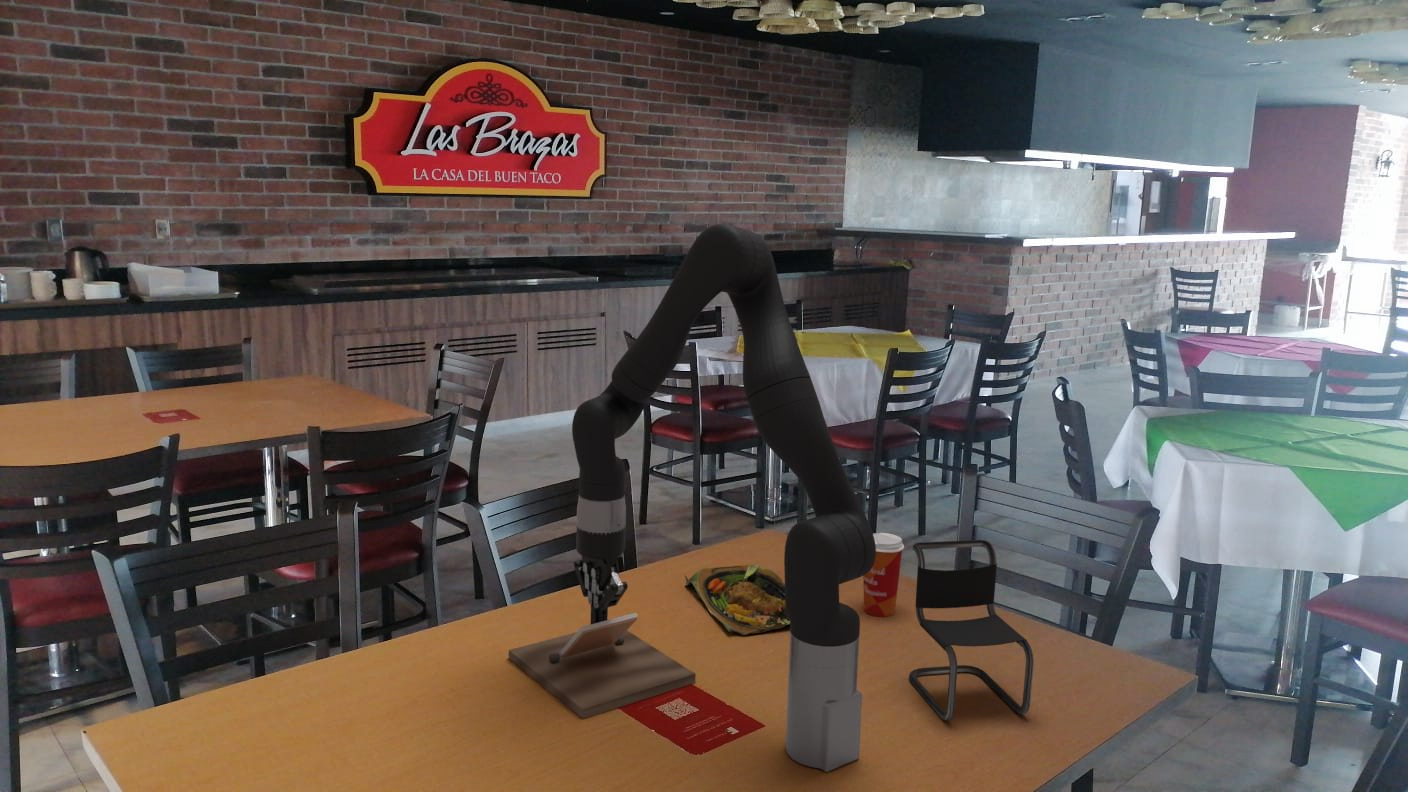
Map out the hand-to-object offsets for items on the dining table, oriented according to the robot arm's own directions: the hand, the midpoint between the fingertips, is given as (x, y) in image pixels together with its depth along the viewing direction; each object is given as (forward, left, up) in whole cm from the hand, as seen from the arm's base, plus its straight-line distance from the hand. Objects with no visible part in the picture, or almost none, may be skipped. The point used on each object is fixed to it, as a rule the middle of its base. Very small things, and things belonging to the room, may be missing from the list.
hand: (598, 627), depth 159 cm
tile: (+1, 0, -1) cm, 1 cm away
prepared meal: (+8, -38, -8) cm, 39 cm away
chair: (-39, -41, -8) cm, 57 cm away
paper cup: (-8, -55, -8) cm, 56 cm away
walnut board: (0, 0, -7) cm, 7 cm away
